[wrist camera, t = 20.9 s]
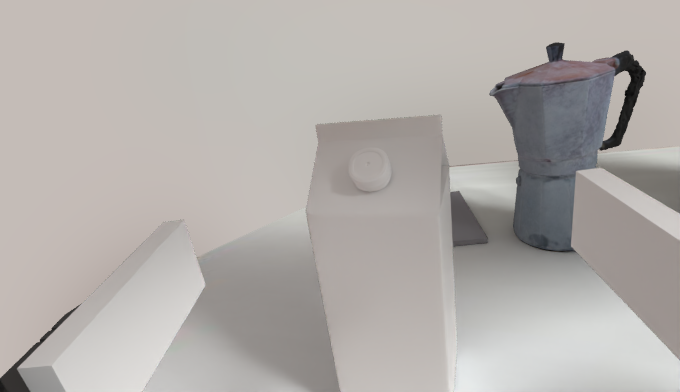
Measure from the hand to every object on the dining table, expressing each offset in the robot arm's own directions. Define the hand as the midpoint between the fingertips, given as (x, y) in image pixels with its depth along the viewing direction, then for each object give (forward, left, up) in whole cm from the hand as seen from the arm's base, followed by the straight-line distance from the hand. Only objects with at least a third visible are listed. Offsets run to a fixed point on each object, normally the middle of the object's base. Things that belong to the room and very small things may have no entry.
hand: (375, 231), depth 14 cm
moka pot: (-19, -29, -18) cm, 39 cm away
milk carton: (-1, -10, -18) cm, 20 cm away
